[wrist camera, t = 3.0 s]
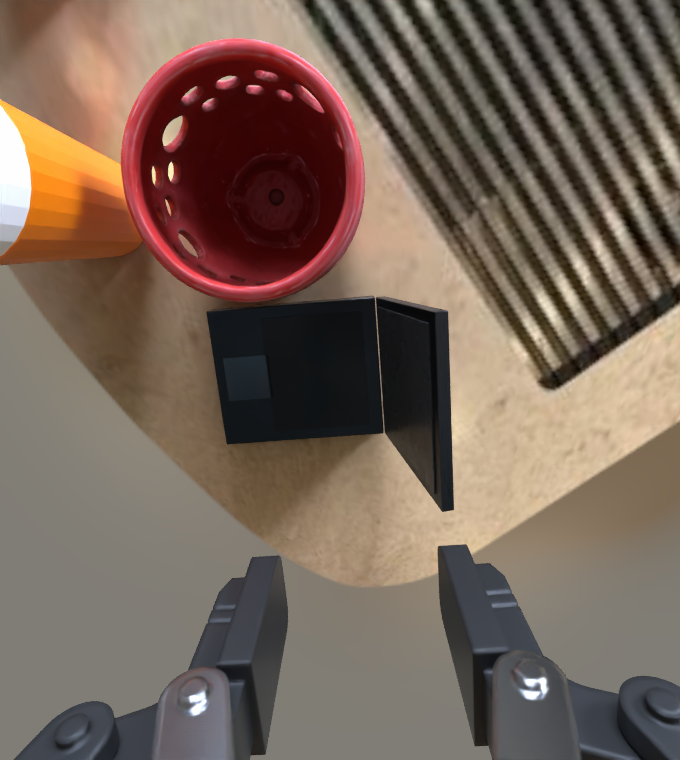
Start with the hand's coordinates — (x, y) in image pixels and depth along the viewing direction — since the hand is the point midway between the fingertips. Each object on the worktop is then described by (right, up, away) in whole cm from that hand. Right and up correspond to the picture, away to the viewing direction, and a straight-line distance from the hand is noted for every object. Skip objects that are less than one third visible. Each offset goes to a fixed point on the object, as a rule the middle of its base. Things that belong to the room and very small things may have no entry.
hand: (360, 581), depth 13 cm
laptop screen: (+4, +5, +18) cm, 19 cm away
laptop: (-4, +6, +27) cm, 28 cm away
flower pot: (-5, +19, +24) cm, 31 cm away
